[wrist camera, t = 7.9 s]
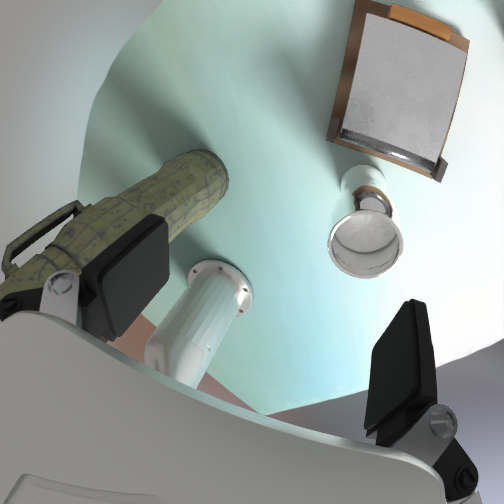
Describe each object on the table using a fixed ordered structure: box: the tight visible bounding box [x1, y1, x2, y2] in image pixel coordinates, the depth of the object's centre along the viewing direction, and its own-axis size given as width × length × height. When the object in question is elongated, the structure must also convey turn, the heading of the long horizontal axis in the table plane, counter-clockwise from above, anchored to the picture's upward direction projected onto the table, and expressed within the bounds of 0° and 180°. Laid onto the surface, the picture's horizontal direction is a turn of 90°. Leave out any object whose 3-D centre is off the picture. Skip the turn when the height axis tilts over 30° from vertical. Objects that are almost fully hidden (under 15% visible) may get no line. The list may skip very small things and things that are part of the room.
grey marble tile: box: [340, 13, 467, 173], centre depth 23 cm, size 15×11×2 cm
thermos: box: [0, 149, 229, 343], centre depth 28 cm, size 9×12×35 cm
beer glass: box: [328, 165, 403, 279], centre depth 29 cm, size 7×7×15 cm
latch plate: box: [326, 0, 470, 183], centre depth 24 cm, size 19×14×6 cm
